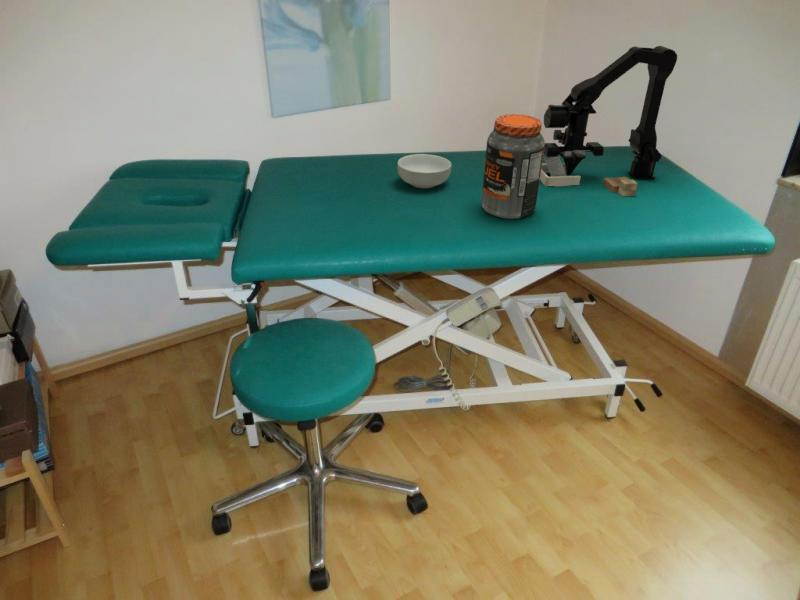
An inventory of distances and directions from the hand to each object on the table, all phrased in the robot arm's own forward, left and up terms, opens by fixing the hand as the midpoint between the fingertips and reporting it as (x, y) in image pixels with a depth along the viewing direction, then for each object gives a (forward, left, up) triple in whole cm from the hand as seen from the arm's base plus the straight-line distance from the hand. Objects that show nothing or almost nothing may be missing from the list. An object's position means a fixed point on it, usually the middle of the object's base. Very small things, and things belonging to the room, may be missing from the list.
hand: (568, 175), depth 196 cm
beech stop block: (-13, +14, -1) cm, 20 cm away
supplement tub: (+26, +22, -1) cm, 34 cm away
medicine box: (+3, 0, 0) cm, 3 cm away
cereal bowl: (+48, 0, -1) cm, 48 cm away
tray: (+4, 0, -1) cm, 4 cm away
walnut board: (-14, +9, -2) cm, 16 cm away
